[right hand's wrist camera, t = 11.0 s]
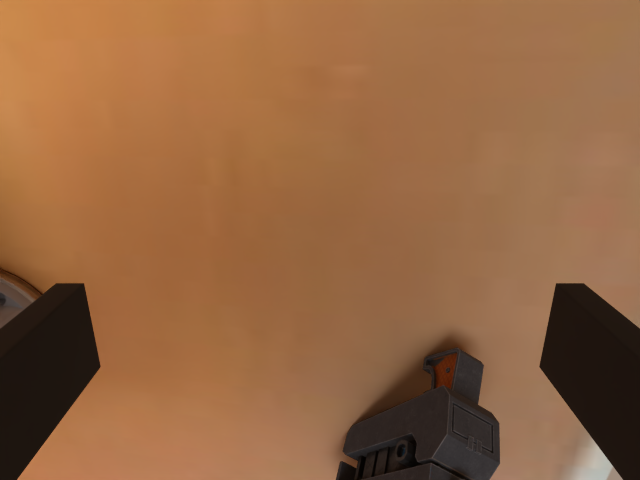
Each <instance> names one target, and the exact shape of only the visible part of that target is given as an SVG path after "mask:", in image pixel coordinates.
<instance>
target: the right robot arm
mask: <svg viewBox="0 0 640 480" xmlns="http://www.w3.org/2000/svg"><path fill="white" fill-rule="evenodd" d="M99 368H100V362H99V357H98V352H97V347H96V342H95V337H94V332H93V327H92V322H91V317H90V312H89V307H88V302H87V297H86V292H85V287H84V283H56V284H55V285H54V286H53V287H51V288H50V289H49V290H48V291H46V292H45V293H44V294H43V295H41V294H40V293H39V292H38V291H37V290H36V289H35V288H33V287H32V286H31V285H29V284H28V283H26V282H25V281H23V280H22V279H20V278H18V277H16V276H14V275H12V274H10V273H8V272H5V271H3V270H0V480H17V479H18V477H19V476H20V475H21V473H22V472H23V471H24V469H25V468H26V467H27V465H28V464H29V463H30V461H31V460H32V459H33V457H34V456H35V454H36V453H37V452H38V450H39V449H40V448H41V446H42V445H43V444H44V442H45V441H46V440H47V438H48V437H49V436H50V434H51V433H52V432H53V430H54V429H55V428H56V426H57V425H58V423H59V422H60V421H61V419H62V418H63V417H64V415H65V414H66V413H67V411H68V410H69V409H70V407H71V406H72V405H73V403H74V402H75V401H76V399H77V398H78V397H79V395H80V394H81V392H82V391H83V390H84V388H85V387H86V386H87V384H88V383H89V382H90V380H91V379H92V378H93V376H94V375H95V374H96V372H97V371H98V370H99ZM540 368H541V370H542V371H543V372H544V374H545V375H546V376H547V378H548V379H549V380H550V382H551V383H552V384H553V386H554V387H555V388H556V390H557V391H558V392H559V394H560V395H561V397H562V398H563V399H564V401H565V402H566V403H567V405H568V406H569V407H570V409H571V410H572V411H573V413H574V414H575V415H576V417H577V418H578V419H579V421H580V422H581V423H582V425H583V426H584V428H585V429H586V430H587V432H588V433H589V434H590V436H591V437H592V438H593V440H594V441H595V442H596V444H597V445H598V446H599V448H600V449H601V450H602V452H603V453H604V454H605V456H606V457H607V459H608V460H609V461H610V463H611V464H612V465H613V467H614V468H615V469H616V471H617V472H618V473H619V475H620V476H621V477H622V479H623V480H640V328H638V327H637V326H636V325H635V324H633V323H632V322H631V321H630V320H628V319H627V318H626V317H625V316H623V315H622V314H621V313H620V312H618V311H617V310H616V309H615V308H614V307H612V306H611V305H610V304H609V303H607V302H606V301H605V300H604V299H602V298H601V297H600V296H599V295H597V294H596V293H595V292H594V291H592V290H591V289H590V288H589V287H587V286H586V285H585V284H584V283H556V287H555V292H554V297H553V302H552V307H551V312H550V317H549V322H548V327H547V332H546V337H545V342H544V347H543V352H542V357H541V362H540Z"/></svg>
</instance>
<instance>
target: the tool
mask: <svg viewBox="0 0 640 480" xmlns="http://www.w3.org/2000/svg"><path fill="white" fill-rule="evenodd" d="M483 367H484V365H483V364H482V362H481V361H479V360H477V359H476V358H474V357H472V356H471V355H469V354H467V353H466V352H464V351H462V350H461V349H459V348H454V349H451V350H447V351H444V352H440V353H437V354H434V355H430V356H427V357H425V359H424V364H423V370H425V371H426V372H428V373H430V374H431V377H432V383H431V390H428V391H426V392H424V393H423V394H422V395H420V396H418V397H416V398H413V399H411V400H409V401H407V402H404V403H402V404H400V405H398V406H395V407H393V408H391V409H389V410H386V411H384V412H382V413H380V414H377V415H375V416H373V417H371V418H368V419H366V420H364V421H362V422H359V423H357V424H355V425H353V426H352V427H351V429H350V430H349V432H348V433H347V437H346V441H345V444H344V448H343V452H344V453H345V454H346V455H347V456H349V457H351V458H353V459H355V460H357V461H358V464H357V469H356V468H354V467H353V466H351V465H349V464H347V463H345V462H343V461H341V462H340V465H339V469H338V473H337V477H336V480H490V478H491V477H492V475H493V474H494V472H495V470H496V469H497V467H498V466H499V464H500V438H499V422H498V421H497V420H496V418H495V417H494V415H493V414H492V413H491V412H489V411H488V410H486V409H484V408H482V407H481V406H479V405H478V401H479V394H480V387H481V381H482V374H483Z"/></svg>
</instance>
